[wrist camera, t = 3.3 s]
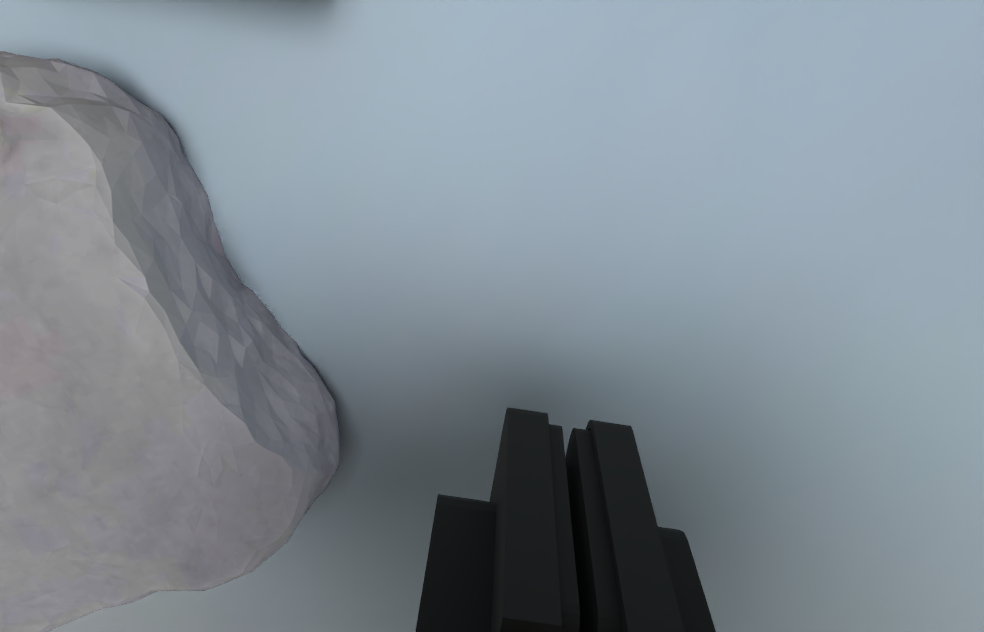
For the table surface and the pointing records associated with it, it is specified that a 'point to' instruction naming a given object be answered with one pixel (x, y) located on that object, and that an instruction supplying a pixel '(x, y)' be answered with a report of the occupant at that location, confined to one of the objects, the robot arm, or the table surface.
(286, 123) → the table surface
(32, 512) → the stone block
